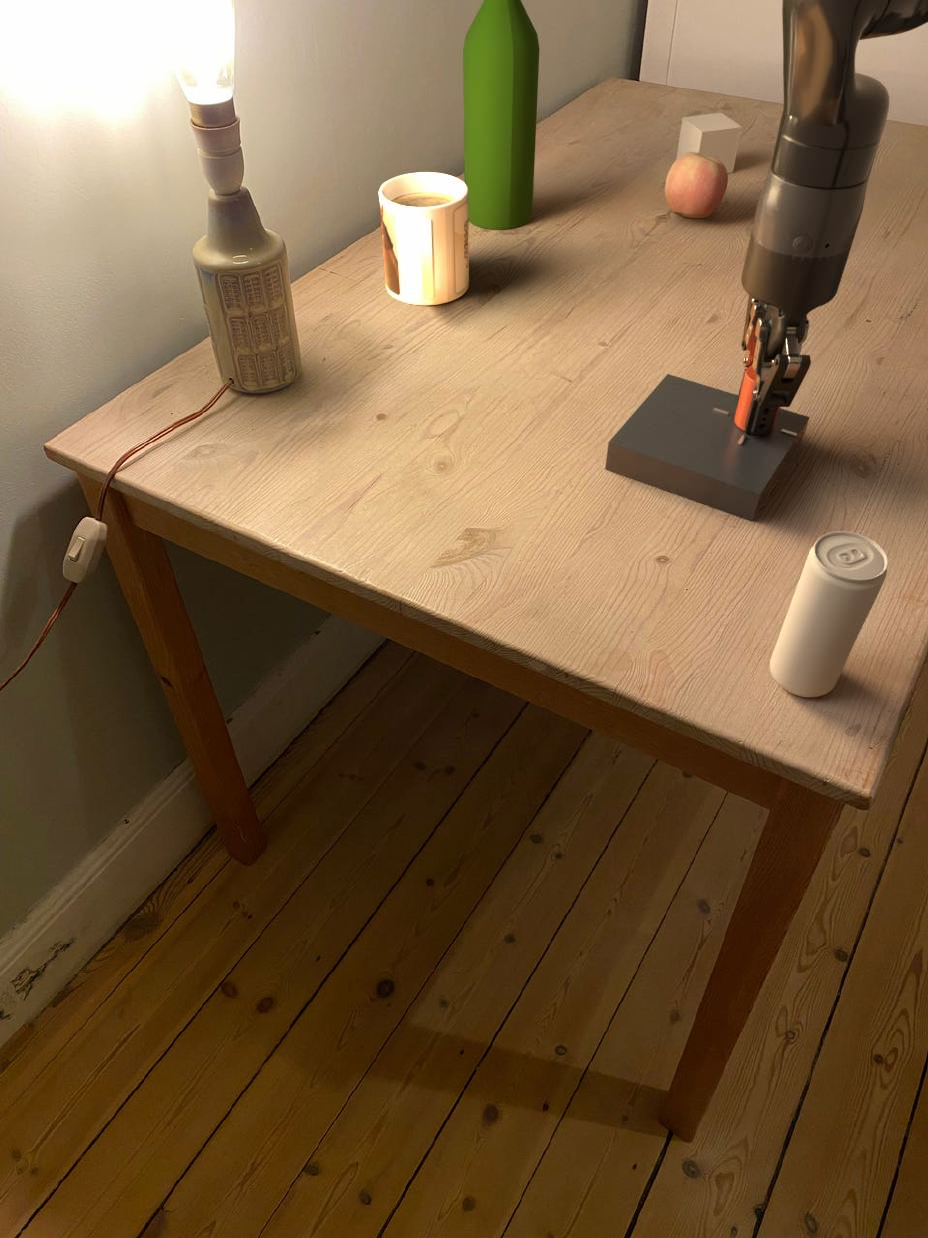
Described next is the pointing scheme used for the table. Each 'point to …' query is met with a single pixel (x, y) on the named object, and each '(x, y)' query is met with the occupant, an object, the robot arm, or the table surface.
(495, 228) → the wine bottle
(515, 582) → the table surface
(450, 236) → the mug
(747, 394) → the control knob
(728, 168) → the white block
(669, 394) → the base block
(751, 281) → the robot arm
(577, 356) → the table surface
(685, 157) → the apple
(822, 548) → the beverage can
